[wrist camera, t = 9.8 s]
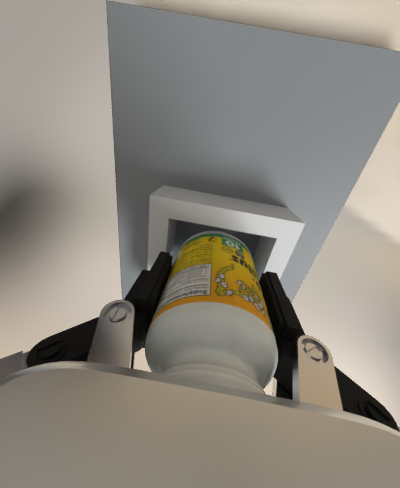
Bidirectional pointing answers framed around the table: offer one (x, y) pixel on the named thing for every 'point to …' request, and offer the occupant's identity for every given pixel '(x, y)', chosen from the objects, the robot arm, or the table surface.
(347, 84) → the socket holder
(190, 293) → the supplement bottle
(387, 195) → the table surface
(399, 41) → the table surface
